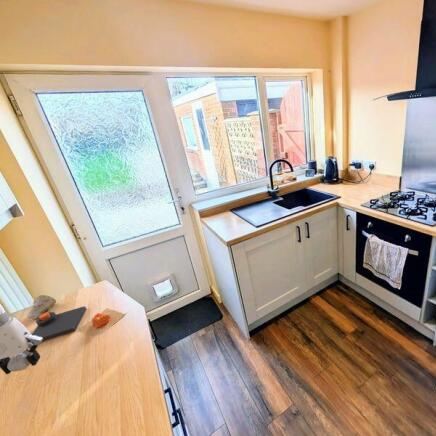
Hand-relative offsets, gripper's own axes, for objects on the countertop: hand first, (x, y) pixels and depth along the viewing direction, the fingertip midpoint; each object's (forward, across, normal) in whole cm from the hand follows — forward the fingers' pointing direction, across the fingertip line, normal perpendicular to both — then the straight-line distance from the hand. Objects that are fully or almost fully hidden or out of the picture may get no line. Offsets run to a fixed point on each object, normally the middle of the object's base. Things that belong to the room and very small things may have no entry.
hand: (23, 365), depth 75 cm
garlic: (+1, 0, 0) cm, 1 cm away
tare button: (+6, -9, +31) cm, 33 cm away
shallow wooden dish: (+9, +12, +20) cm, 25 cm away
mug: (+10, -15, +41) cm, 44 cm away
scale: (+9, -4, +27) cm, 28 cm away
